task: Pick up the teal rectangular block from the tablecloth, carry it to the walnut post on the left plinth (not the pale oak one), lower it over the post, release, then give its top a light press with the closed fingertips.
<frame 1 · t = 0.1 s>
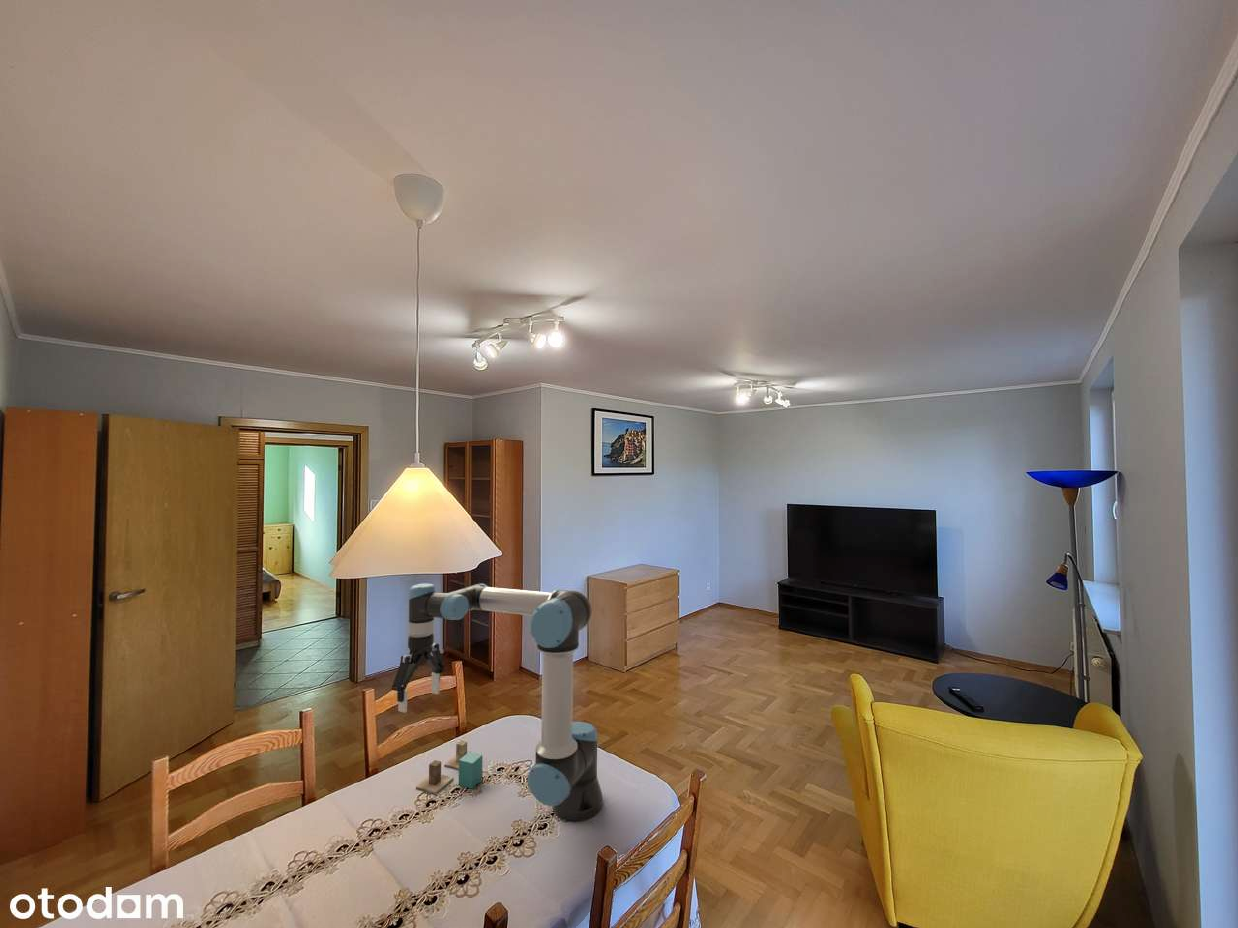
hand: (419, 702, 151), 28 cm above the table, fingers open, 13 cm apart
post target: (434, 783, 154), on the table
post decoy: (461, 762, 166), on the table
teal rectangular block: (470, 781, 155), on the table
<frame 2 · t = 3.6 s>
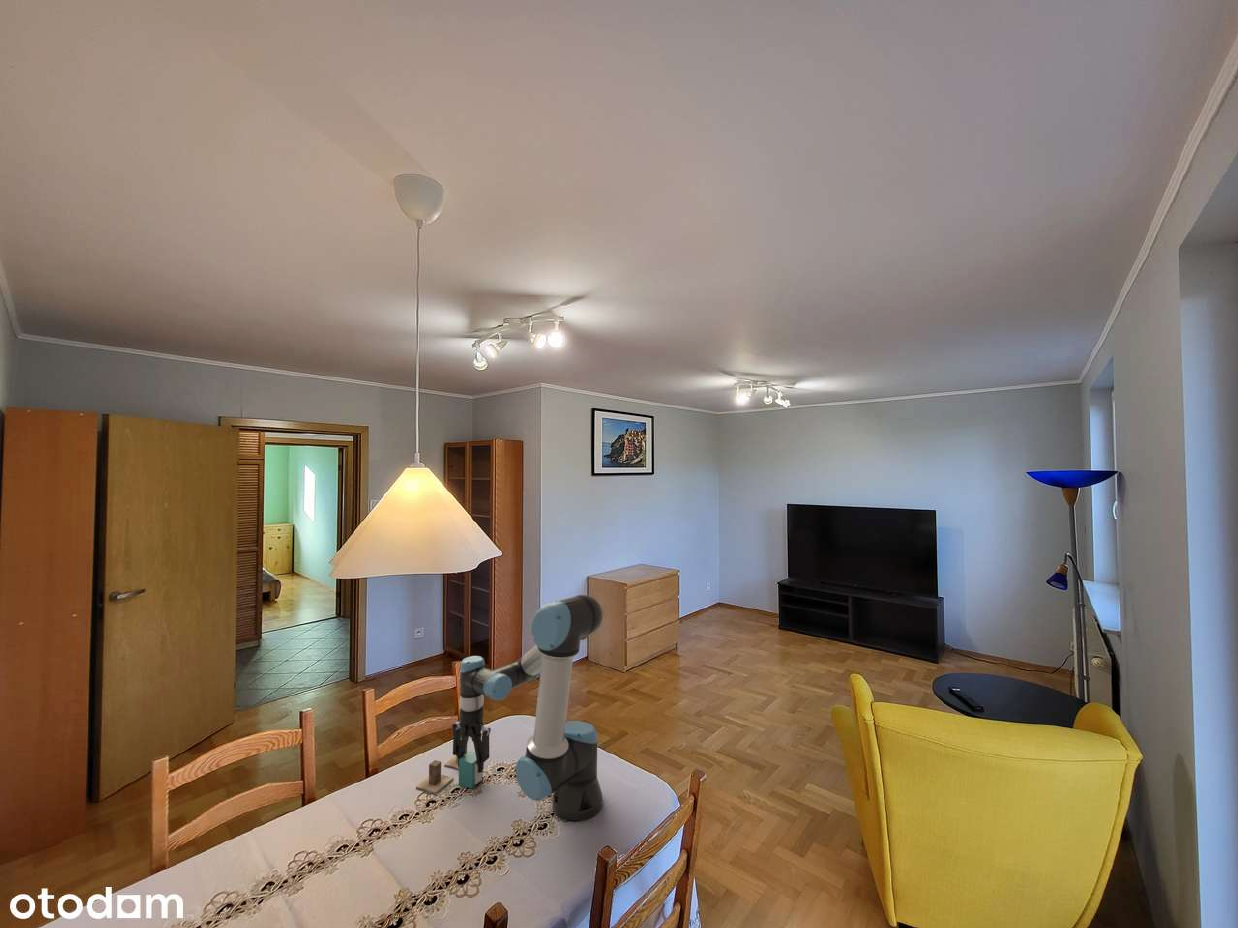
hand: (470, 779, 155), 1 cm above the table, fingers closed on teal rectangular block, 5 cm apart
teal rectangular block: (470, 781, 155), on the table, touching gripper
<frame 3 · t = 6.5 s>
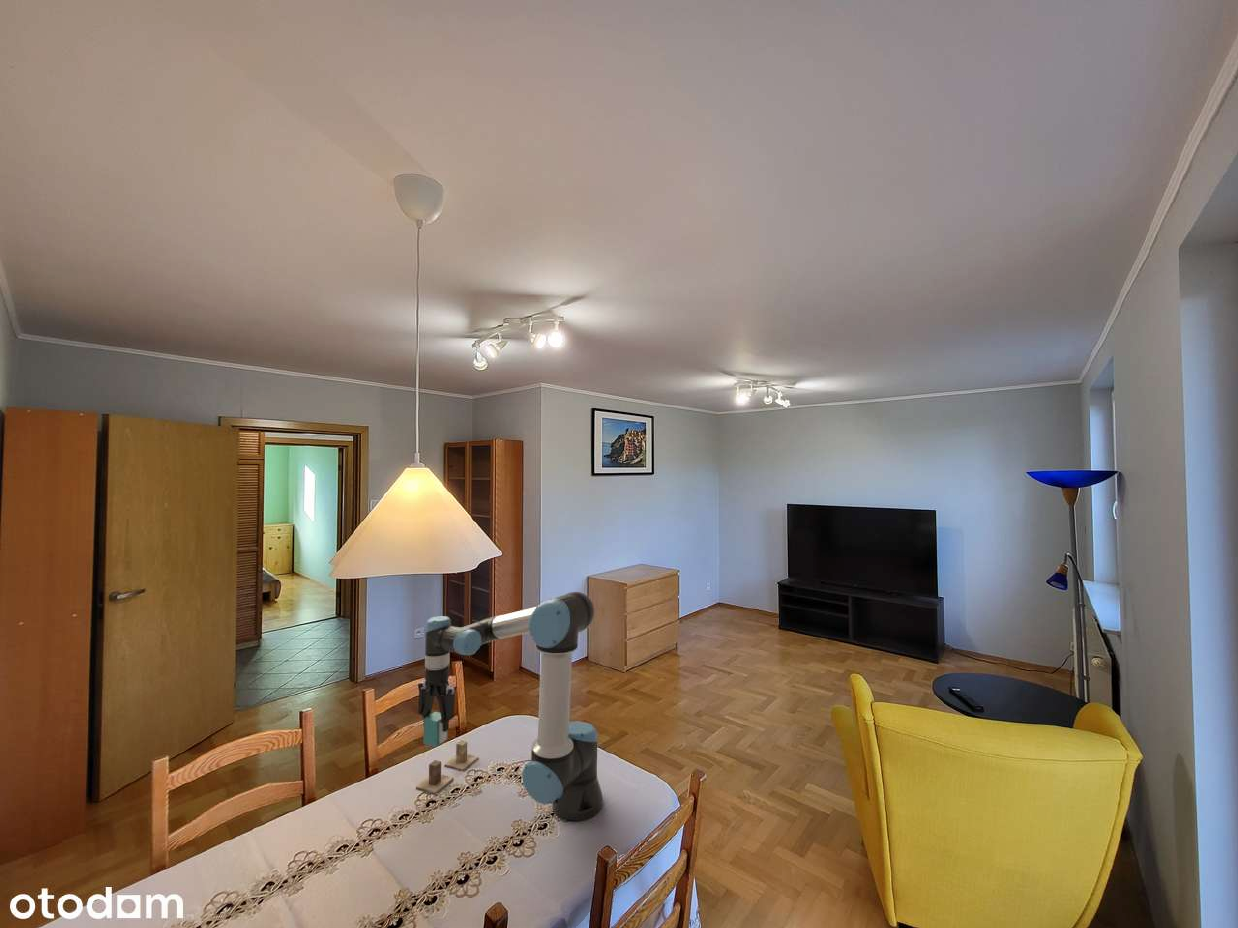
hand: (435, 738, 155), 14 cm above the table, fingers closed on teal rectangular block, 5 cm apart
teal rectangular block: (435, 741, 155), point 13 cm above the table, touching gripper
when the fingers open (3 cm above the table, at t = 9.6 s): teal rectangular block drops 1 cm, resting on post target.
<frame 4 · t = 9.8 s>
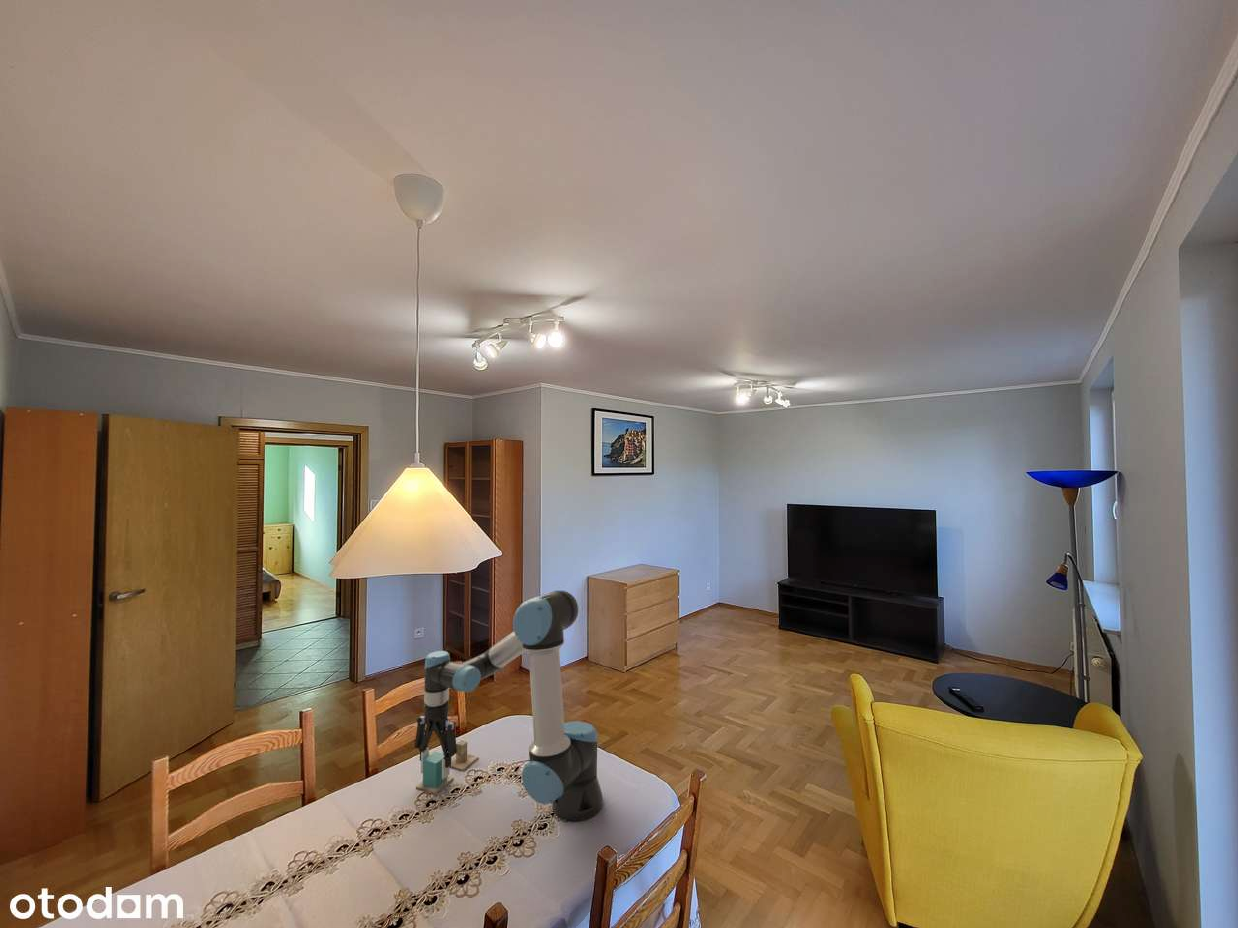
hand: (435, 773, 154), 3 cm above the table, fingers open, 8 cm apart
teal rectangular block: (435, 781, 154), point 1 cm above the table, touching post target
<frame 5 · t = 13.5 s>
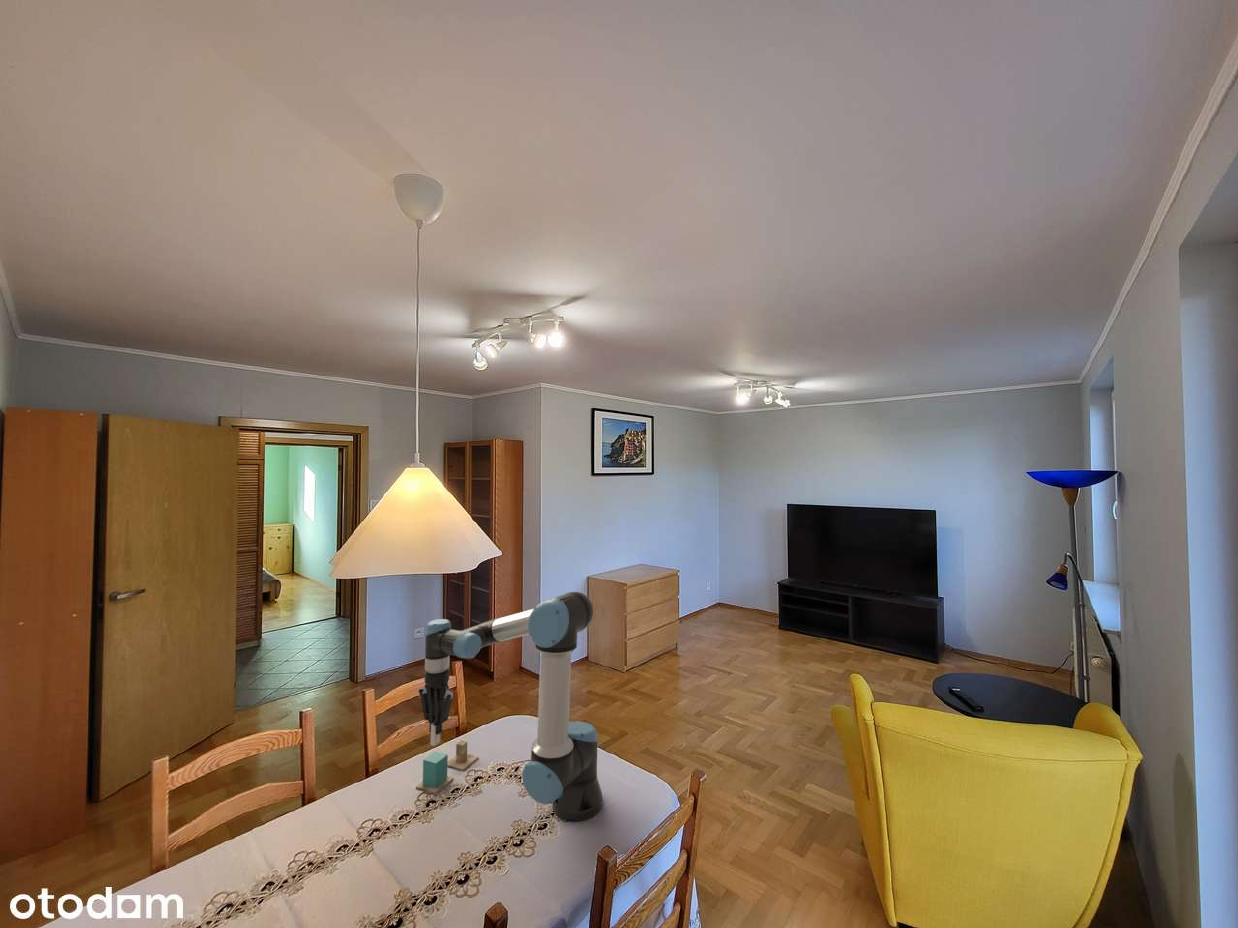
hand: (435, 742, 155), 13 cm above the table, fingers closed
nothing on the table moved.
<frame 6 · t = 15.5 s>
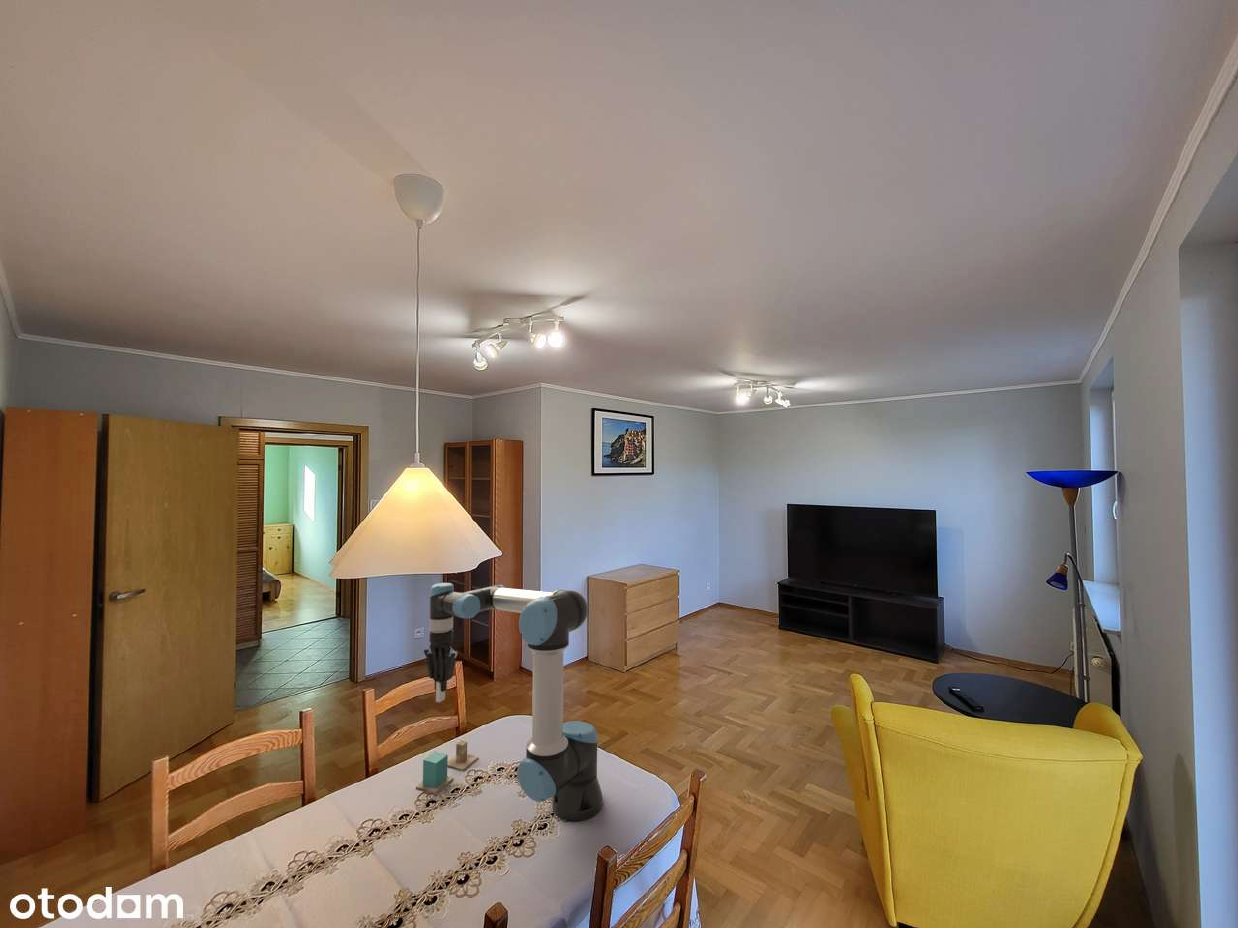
hand: (440, 700, 162), 23 cm above the table, fingers closed
nothing on the table moved.
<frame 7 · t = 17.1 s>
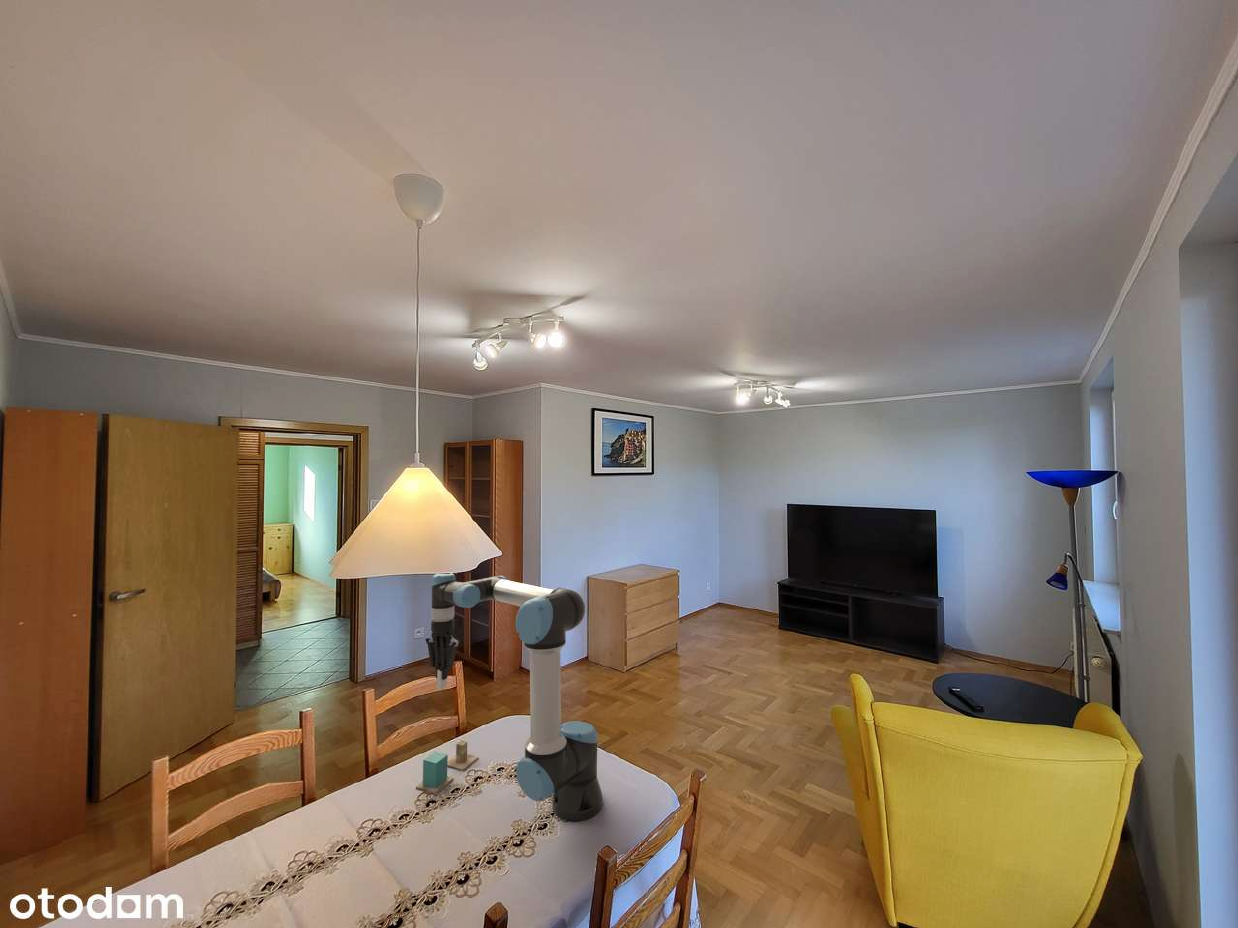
hand: (441, 688, 165), 26 cm above the table, fingers closed
nothing on the table moved.
at the end: teal rectangular block 0.0 cm from the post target (horizontally); teal rectangular block point 0.6 cm above the table; teal rectangular block tilted 0° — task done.
